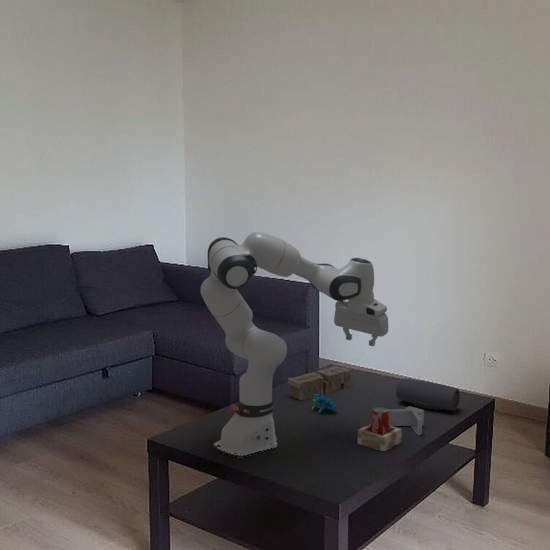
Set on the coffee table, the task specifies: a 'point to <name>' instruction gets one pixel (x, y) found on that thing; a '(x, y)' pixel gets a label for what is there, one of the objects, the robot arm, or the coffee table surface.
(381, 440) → the bore block
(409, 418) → the v-block
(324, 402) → the blue toy figure
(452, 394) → the bluetooth speaker
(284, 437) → the coffee table surface
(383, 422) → the beverage can
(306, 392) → the block tower
